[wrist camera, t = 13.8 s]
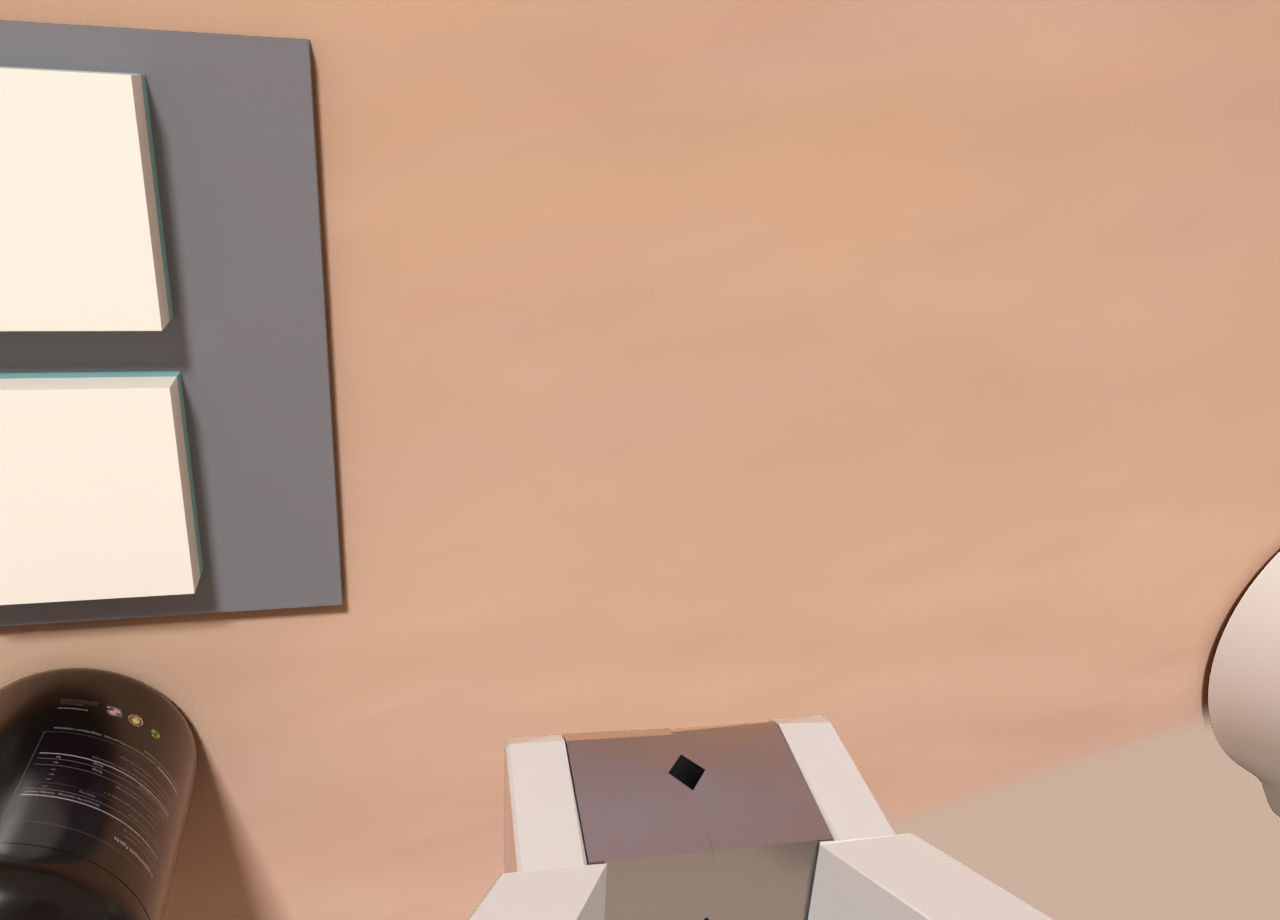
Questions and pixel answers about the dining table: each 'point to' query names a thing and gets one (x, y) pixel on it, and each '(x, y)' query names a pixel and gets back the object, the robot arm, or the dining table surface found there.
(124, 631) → the dining table surface
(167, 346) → the mat
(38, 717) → the supplement bottle
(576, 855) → the robot arm
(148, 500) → the tile
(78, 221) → the tile
